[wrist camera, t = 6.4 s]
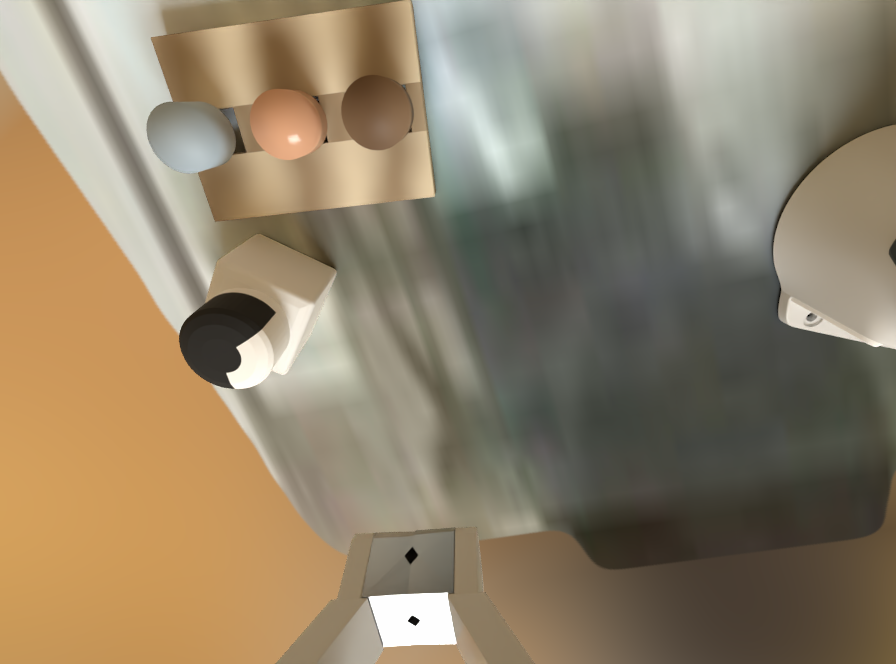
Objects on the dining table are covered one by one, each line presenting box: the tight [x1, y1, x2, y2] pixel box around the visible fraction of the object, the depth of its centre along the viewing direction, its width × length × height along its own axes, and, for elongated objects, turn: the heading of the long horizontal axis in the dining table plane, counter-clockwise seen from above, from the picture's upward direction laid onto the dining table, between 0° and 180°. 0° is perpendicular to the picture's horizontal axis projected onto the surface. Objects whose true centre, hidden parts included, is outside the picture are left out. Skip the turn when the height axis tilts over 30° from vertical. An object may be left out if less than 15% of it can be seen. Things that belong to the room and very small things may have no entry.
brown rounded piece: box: [341, 75, 414, 150], centre depth 29 cm, size 4×4×5 cm
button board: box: [151, 0, 436, 222], centre depth 32 cm, size 17×12×2 cm
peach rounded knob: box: [250, 89, 328, 160], centre depth 30 cm, size 4×4×5 cm
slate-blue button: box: [147, 101, 236, 174], centre depth 30 cm, size 4×4×5 cm
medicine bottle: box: [179, 234, 337, 389], centre depth 34 cm, size 7×7×12 cm
